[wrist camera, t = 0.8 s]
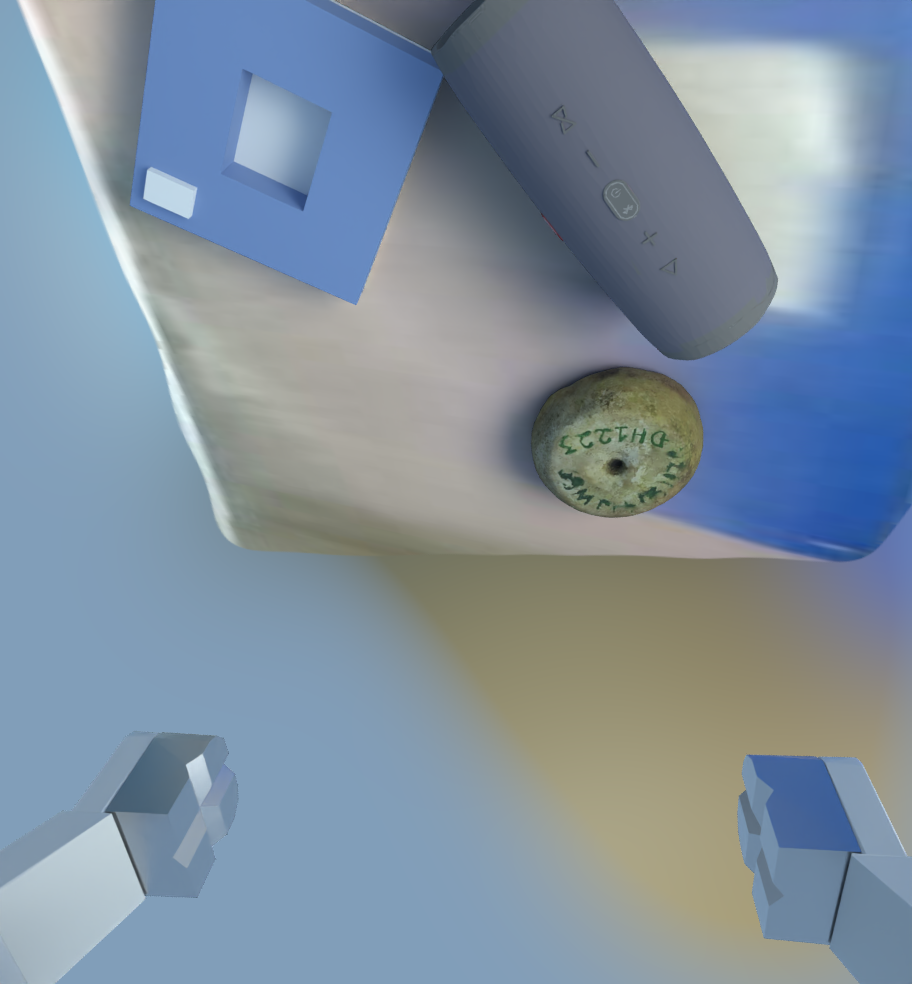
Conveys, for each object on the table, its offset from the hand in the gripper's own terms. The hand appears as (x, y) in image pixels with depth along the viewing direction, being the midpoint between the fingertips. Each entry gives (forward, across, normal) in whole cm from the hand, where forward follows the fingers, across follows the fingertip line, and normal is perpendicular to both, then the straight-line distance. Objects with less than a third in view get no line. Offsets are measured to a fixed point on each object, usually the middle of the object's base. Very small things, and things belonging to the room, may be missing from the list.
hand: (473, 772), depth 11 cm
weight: (+49, -6, +14) cm, 52 cm away
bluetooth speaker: (+43, -5, -8) cm, 44 cm away
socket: (+42, +16, -10) cm, 46 cm away
